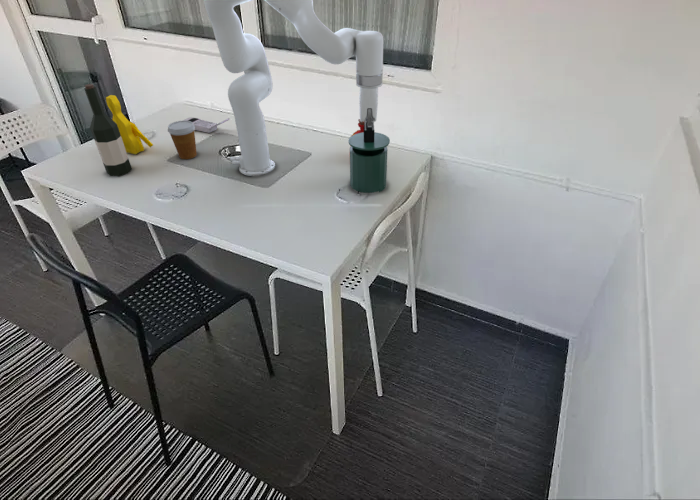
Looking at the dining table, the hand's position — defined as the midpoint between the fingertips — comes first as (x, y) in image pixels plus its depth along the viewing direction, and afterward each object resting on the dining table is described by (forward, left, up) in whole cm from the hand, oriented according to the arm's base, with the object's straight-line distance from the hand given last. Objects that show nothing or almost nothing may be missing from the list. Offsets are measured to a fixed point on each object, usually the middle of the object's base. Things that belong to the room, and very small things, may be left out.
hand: (368, 139), depth 140 cm
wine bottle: (-88, +12, -16) cm, 90 cm away
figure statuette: (-89, +28, -16) cm, 95 cm away
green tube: (0, 0, -16) cm, 16 cm away
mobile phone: (-67, +49, -13) cm, 84 cm away
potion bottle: (-1, +19, -16) cm, 25 cm away
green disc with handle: (0, 0, -1) cm, 1 cm away
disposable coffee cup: (-67, +24, -16) cm, 73 cm away
